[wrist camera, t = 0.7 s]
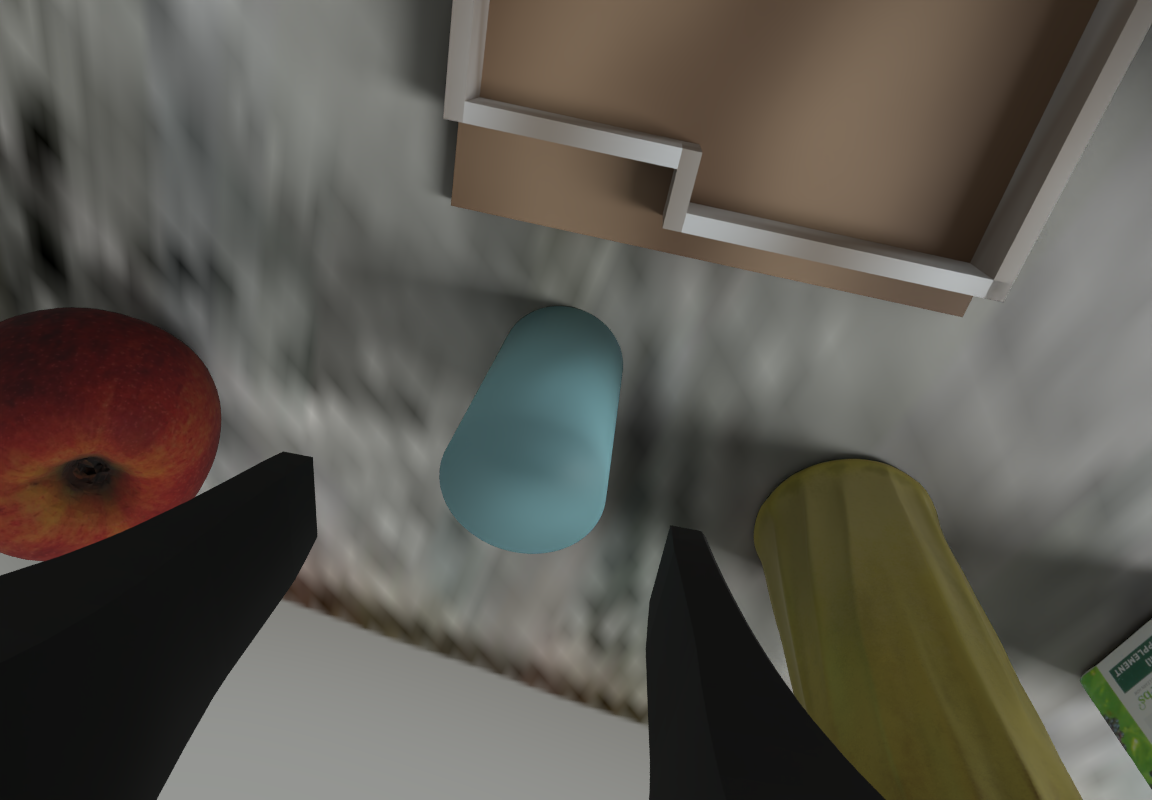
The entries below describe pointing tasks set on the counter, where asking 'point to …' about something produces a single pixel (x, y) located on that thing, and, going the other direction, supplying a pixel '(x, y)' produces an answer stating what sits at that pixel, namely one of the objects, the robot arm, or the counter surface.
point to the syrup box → (1127, 695)
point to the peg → (538, 435)
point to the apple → (97, 428)
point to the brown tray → (790, 129)
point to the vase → (897, 641)
